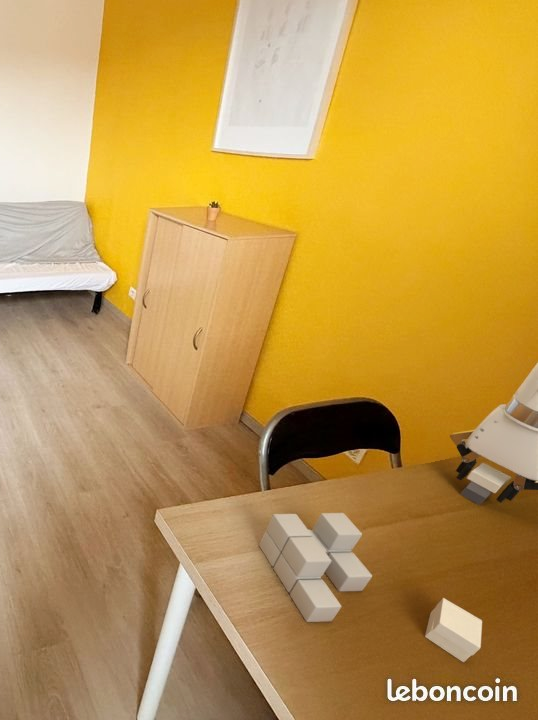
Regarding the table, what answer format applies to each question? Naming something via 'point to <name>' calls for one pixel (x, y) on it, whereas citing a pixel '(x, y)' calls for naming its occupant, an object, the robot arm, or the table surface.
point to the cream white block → (488, 477)
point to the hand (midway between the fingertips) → (481, 486)
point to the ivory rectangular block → (454, 630)
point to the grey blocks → (476, 493)
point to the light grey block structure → (315, 561)
